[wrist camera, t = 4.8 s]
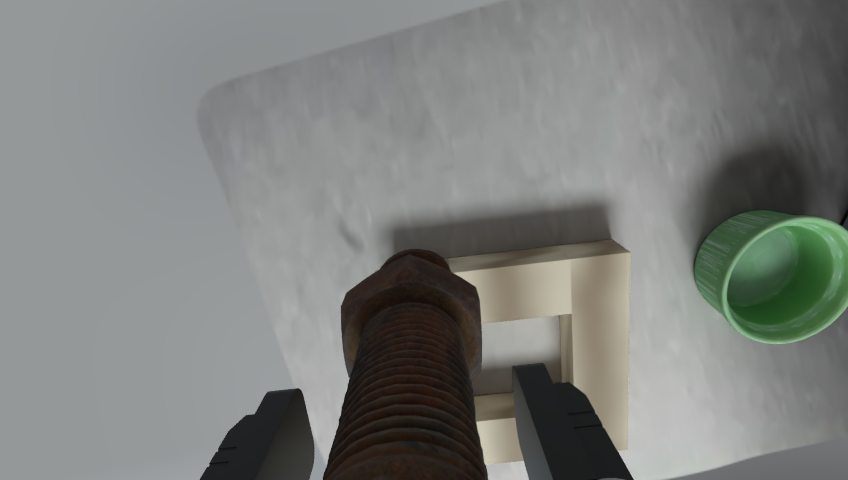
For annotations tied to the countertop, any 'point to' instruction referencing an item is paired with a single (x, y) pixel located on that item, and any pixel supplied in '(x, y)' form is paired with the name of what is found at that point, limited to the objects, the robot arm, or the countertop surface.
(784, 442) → the countertop surface
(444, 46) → the countertop surface
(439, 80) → the countertop surface
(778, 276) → the ramekin
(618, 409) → the frame
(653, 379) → the countertop surface
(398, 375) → the bolt
